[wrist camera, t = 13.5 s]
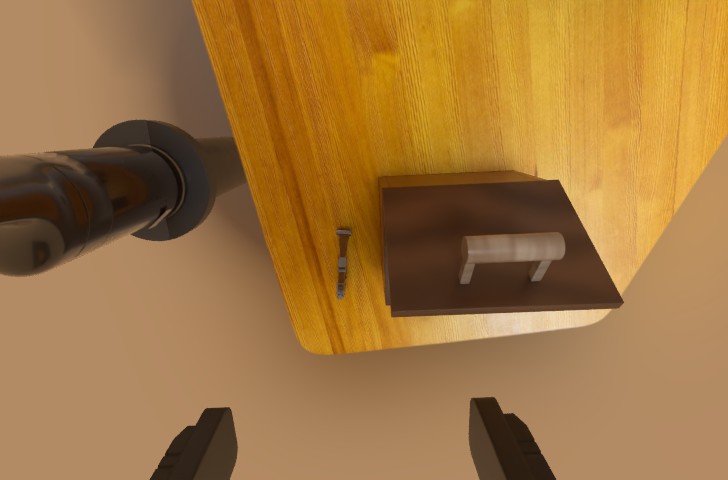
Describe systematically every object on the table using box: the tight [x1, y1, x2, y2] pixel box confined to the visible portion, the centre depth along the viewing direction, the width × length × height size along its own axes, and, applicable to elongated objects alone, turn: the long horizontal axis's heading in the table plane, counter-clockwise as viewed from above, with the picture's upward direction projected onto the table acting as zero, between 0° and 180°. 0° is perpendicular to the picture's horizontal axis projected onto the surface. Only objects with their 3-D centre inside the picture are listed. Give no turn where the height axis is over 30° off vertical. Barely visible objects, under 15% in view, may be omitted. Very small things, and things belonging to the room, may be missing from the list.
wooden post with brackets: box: [336, 230, 352, 300], centre depth 46 cm, size 2×8×4 cm, turn 177°
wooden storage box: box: [379, 170, 545, 305], centre depth 41 cm, size 12×16×10 cm
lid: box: [382, 180, 624, 317], centre depth 28 cm, size 12×16×5 cm
